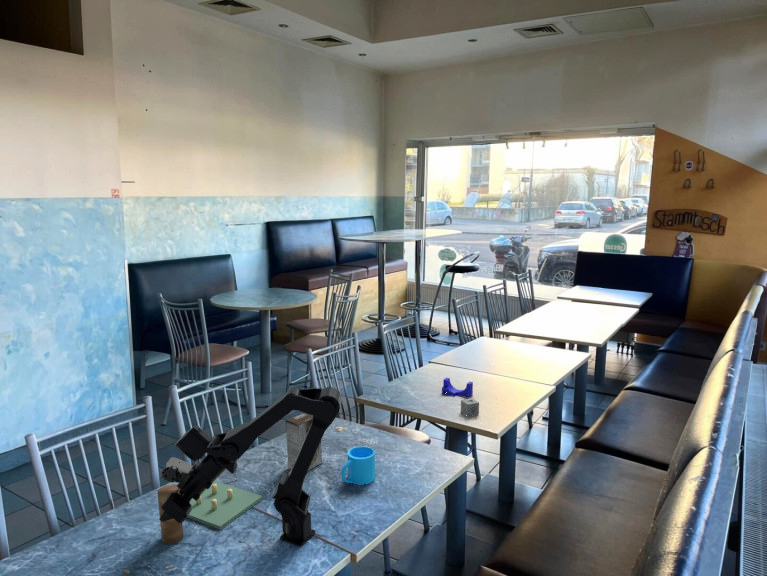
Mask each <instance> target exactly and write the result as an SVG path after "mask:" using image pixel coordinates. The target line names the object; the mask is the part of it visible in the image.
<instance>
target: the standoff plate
mask: <svg viewBox="0 0 767 576" xmlns="http://www.w3.org/2000/svg"><path fill="white" fill-rule="evenodd" d="M261 501H263V495H260V494H258V493H254V492H251V491H248V490H245V489H241V488H239V487H235V486H232V485H230V484H227V483H223V482H221V481H217V480H215V481H214V482H213V483H212V485H211V487H210V488H209V489H208V490H207V489H206V490H205V491H204V492H203V493H202V494H201V496H200V497H199V499H198V500H197V501H196V500H194V499H193V498H192V499H191V501H190V504H191V506H192V510H191V512H190V514H189V515H188V517H187V518H186V519H190V520H193V521H195V522H198V523H200V524H204V525H206V526H209V527H211V528H213V529H217V530H219V531H221V530H223V529H224V528H225V527H227V526H228V525H229V524H231V523H232V522H233V521H235V520H236V519H237V518H239V517H241V515H244V513H246V512H247V511H249V510H250V509H252V507H254V506H255V505H257V504H258V503H260V502H261Z"/></svg>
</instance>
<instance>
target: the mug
mask: <svg viewBox="0 0 767 576" xmlns="http://www.w3.org/2000/svg"><path fill="white" fill-rule="evenodd" d="M346 472H347V478H346ZM340 476H341V479H342V480H343V482H345V483H346V484H347V483H348V484H350V483H351V484H352V483H354V484H353V485H355V484H358V486H365V485H364V484H366V485H369V484H368V483H370V484H372V483H373V482H374V481H375V479H376V451H375V449H373V448H372V447H370V446H362V445H361V446H359V445H358V446H355V447H352V448H350V449H349V450H348V451H347V461H346V462H345V464H344V465H343V467H342V469H341V473H340ZM372 481H373V482H372ZM371 482H372V483H371Z"/></svg>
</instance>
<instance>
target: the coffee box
mask: <svg viewBox="0 0 767 576" xmlns="http://www.w3.org/2000/svg"><path fill="white" fill-rule="evenodd" d="M312 419H313V415H309V414H307V413H304V412H301V413H298V414H297V415H294V416H292V417H289V418H287V419H285V433H286V434H285V435H286V454H287V456H286V457H287V468H288V470H290V469H292V468H293V465H294V463H295V461H296V458H297V456H298V454H299V451H300V449H301V447H302V444H303V442H304V440H305V437H306V435H307V433H308V430H309V428H310V426H311V423H312ZM322 454H323V451H322V441H321V442H320V444H319V446H318V449H317V451H316V453H315V455H314V458H313V460H312V462H311V465H310V467H309V469H308V471H310V470H312V469H313V468H316V467H317V465H318V466H319V465H321V464H323V457H322V456H323V455H322Z"/></svg>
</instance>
